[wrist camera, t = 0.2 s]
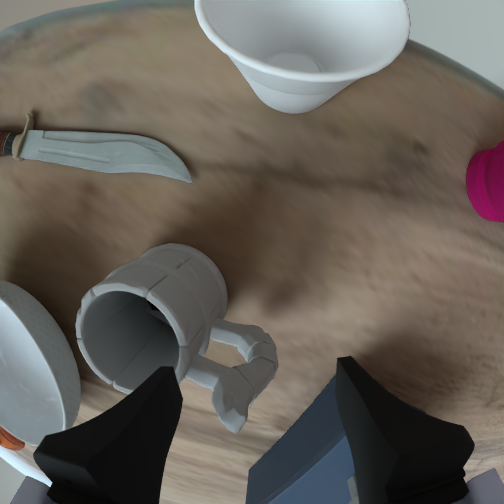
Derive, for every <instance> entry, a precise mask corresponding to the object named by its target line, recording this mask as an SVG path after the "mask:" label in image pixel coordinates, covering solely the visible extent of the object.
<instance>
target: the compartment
mask: <svg viewBox="0 0 504 504" xmlns="http://www.w3.org/2000/svg"><path fill="white" fill-rule="evenodd" d="M335 384H336V375H335V376H334V378H333V379H332V380H331V381H330V383H329V384H328V385H327V386H326V387H325V389H324V390H323V391H322V392H321V394H320V395H319V396H318V397H317V398H316V400H315V401H314V402H313V403H312V404H311V405H310V407H309V408H308V409H307V410H306V411H305V412H304V413H303V415H302V416H301V417H300V418H299V419H298V420H297V421H296V422H295V423H294V425H293V426H292V427H291V428H290V429H289V430H288V431H287V432H286V433H285V434H284V435H283V436H282V437H281V439H280V440H279V441H278V442H277V443H276V444H275V445H274V446H273V447H272V448H271V449H270V450H269V451H268V452H267V453H266V454H265V455H264V456H263V457H262V458H261V459H260V460H259V461H258V462H257V463H256V464H255V465H254V466H253V467H252V468H250V469H249V475H248V485H247V495H246V504H261V503H262V502H264V501H265V500H266V499H268V498H269V497H270V496H271V495H273V494H274V493H275V492H277V491H278V490H279V489H280V488H281V487H283V486H284V485H285V484H286V483H287V482H289V481H290V480H291V479H292V478H293V477H295V476H296V475H297V474H298V473H299V472H300V471H301V470H303V469H304V468H305V467H306V466H307V465H308V464H309V463H310V462H311V461H312V460H314V459H315V458H316V457H317V456H318V455H319V454H320V453H321V452H322V451H323V450H324V449H325V448H326V447H327V446H328V445H329V444H330V443H331V442H332V441H333V440H334V439H335V438H336V437H337V436H338V435H339V434H340V433H341V432H342V431H343V430H344V427H343V424H342V421H341V418H340V415H339V412H338V407H337V401H336V396H335ZM409 406H411V405H409ZM411 407H413V406H411ZM413 408H415V407H413ZM415 409H417V408H415ZM417 410H419V411H421V412H423V413H425V412H424V411H422V410H420V409H417ZM425 414H426V413H425Z"/></svg>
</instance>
